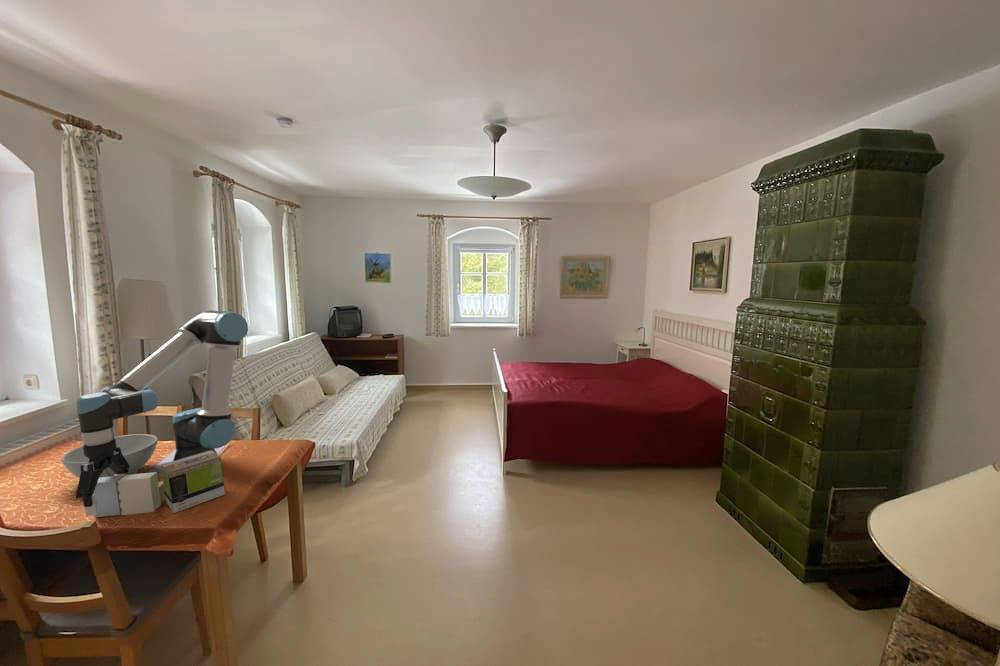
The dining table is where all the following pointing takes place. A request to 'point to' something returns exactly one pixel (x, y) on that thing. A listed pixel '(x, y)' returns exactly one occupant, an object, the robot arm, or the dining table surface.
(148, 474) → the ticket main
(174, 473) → the tea box
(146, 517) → the dining table surface
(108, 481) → the stub
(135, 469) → the decorative bowl
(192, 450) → the robot arm
